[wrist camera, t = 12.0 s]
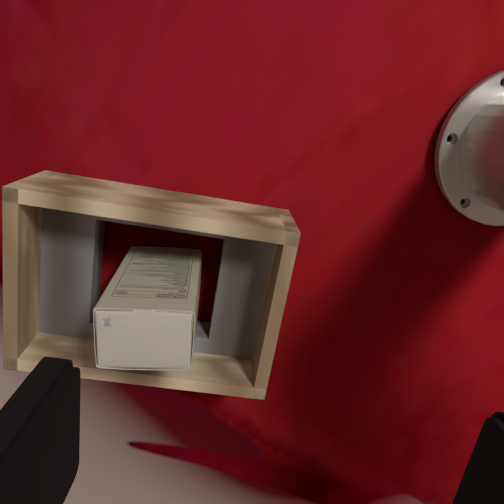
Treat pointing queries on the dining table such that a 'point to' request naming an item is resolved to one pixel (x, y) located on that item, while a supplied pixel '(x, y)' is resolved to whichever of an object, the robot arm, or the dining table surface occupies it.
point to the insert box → (90, 274)
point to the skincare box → (149, 311)
